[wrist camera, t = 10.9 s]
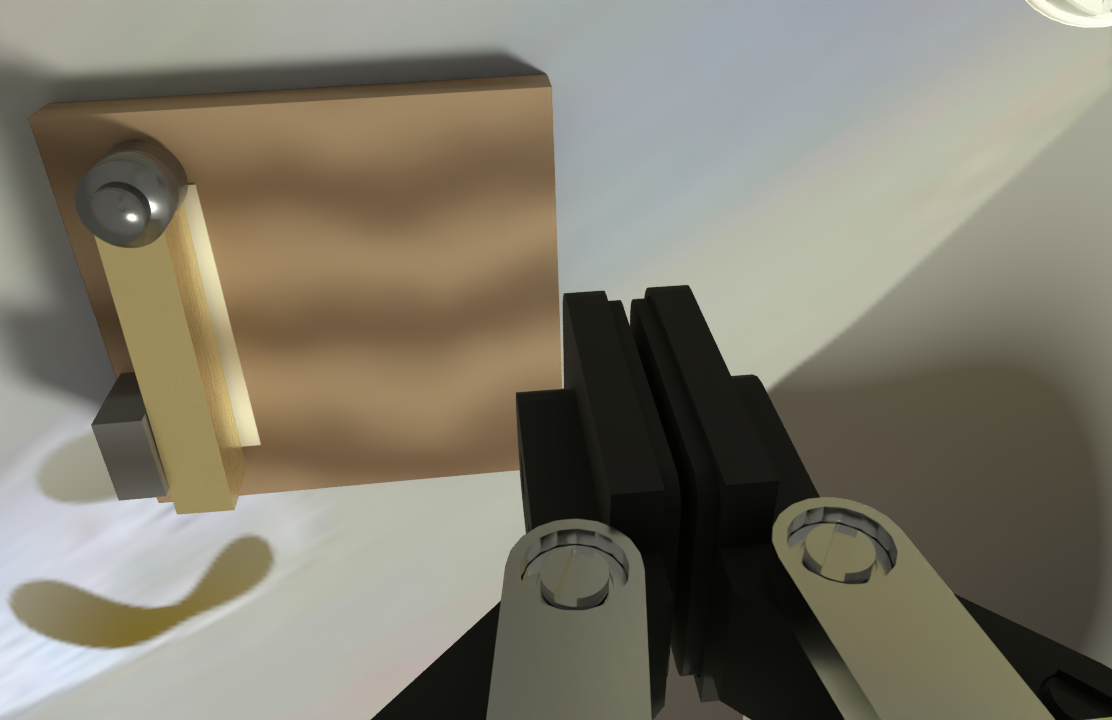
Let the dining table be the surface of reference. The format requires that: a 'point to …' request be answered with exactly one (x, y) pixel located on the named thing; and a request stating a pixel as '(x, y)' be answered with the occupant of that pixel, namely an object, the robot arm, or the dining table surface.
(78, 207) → the bar
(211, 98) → the lock board
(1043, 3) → the paper cup
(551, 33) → the dining table surface
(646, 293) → the robot arm
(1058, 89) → the dining table surface
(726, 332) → the dining table surface
